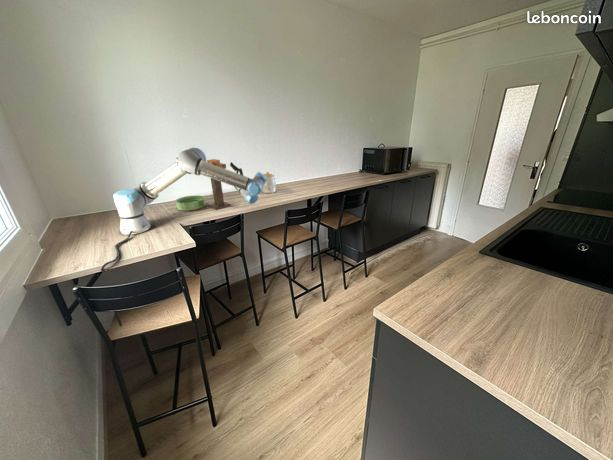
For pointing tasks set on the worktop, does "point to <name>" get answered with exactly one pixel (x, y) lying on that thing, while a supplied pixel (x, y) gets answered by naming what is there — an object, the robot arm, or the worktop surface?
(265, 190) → the jar
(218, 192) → the stand
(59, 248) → the worktop surface
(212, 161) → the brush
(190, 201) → the bowl
